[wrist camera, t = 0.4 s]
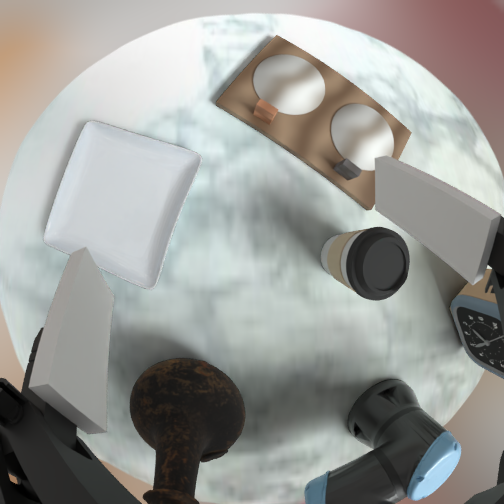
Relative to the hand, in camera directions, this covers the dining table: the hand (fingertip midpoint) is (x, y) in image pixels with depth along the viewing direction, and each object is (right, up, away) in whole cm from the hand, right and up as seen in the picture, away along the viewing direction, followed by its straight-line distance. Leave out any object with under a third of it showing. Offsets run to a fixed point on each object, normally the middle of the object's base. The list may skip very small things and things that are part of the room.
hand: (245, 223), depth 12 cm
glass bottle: (-10, -25, +34) cm, 43 cm away
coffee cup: (+14, -2, +35) cm, 38 cm away
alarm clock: (+47, -15, +39) cm, 63 cm away
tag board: (+12, +21, +32) cm, 41 cm away
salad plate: (-20, +7, +31) cm, 37 cm away
